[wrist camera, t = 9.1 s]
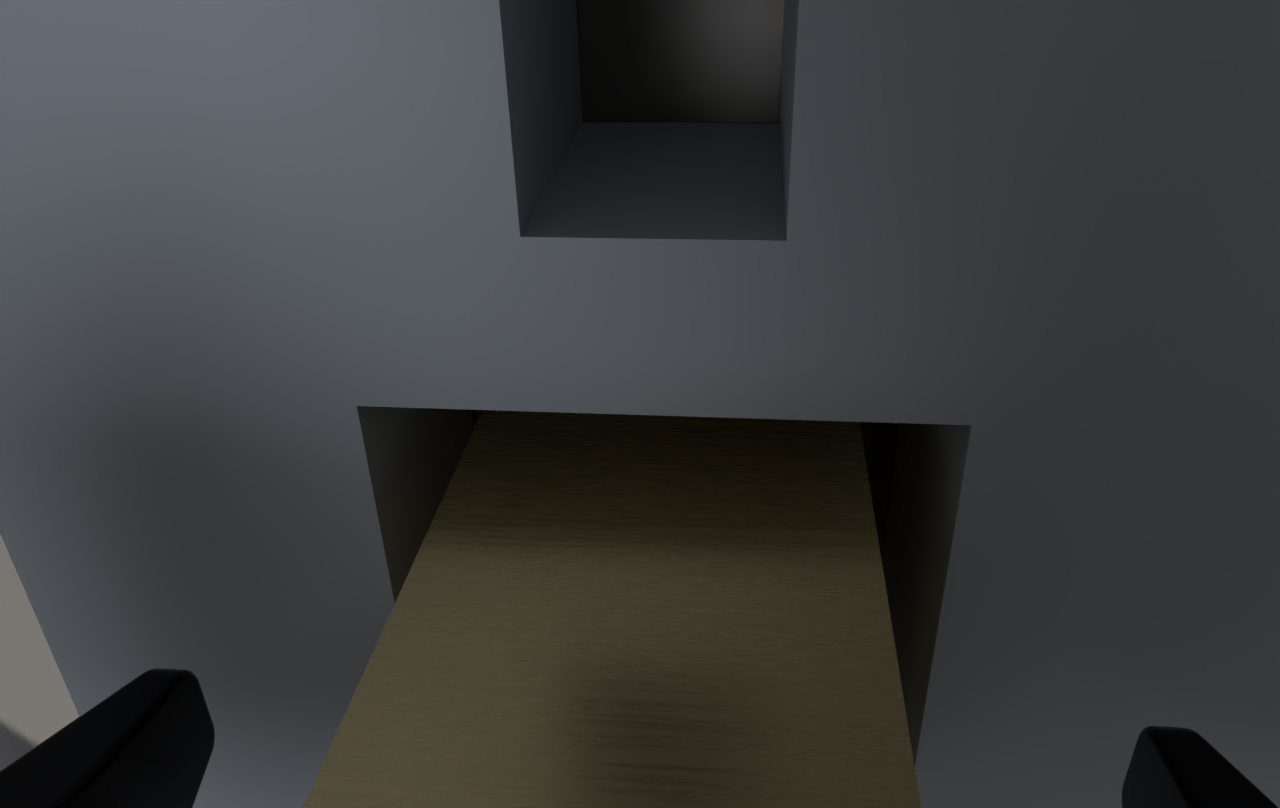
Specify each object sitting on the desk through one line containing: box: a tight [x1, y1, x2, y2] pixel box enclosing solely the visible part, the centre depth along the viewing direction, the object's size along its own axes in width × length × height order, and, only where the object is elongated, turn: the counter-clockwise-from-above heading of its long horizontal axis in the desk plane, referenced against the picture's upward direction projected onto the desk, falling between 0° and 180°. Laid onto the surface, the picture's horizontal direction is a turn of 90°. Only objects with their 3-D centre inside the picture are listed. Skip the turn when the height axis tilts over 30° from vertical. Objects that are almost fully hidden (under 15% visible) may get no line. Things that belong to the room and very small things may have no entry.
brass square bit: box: [302, 410, 921, 808], centre depth 10 cm, size 4×4×9 cm
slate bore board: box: [0, 0, 1280, 808], centre depth 10 cm, size 14×16×4 cm
